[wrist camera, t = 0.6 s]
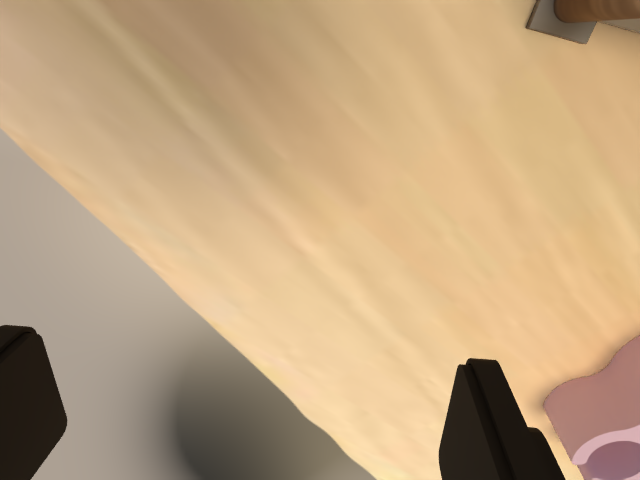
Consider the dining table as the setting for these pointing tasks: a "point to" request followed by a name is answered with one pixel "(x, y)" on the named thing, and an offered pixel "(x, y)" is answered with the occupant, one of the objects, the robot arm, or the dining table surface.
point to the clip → (602, 418)
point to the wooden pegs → (579, 16)
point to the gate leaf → (625, 24)
